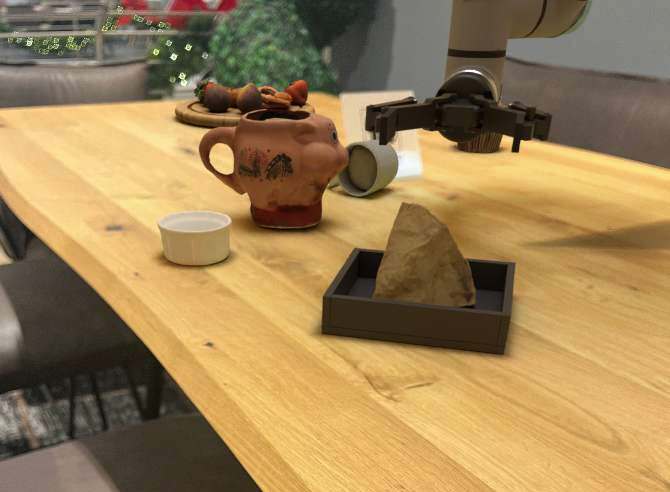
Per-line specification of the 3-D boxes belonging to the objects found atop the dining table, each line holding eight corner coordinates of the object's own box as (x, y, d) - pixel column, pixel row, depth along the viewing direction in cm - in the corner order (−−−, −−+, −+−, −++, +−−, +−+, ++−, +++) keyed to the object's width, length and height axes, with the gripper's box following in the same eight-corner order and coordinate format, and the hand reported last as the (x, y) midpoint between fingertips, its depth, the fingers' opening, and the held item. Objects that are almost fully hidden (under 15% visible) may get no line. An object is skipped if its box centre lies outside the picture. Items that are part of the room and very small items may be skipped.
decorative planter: (198, 234, 101) (191, 119, 93) (205, 210, 111) (200, 103, 103) (348, 235, 101) (354, 120, 93) (342, 210, 111) (347, 104, 103)
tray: (509, 296, 84) (515, 262, 82) (503, 354, 71) (511, 315, 69) (352, 281, 87) (354, 247, 85) (321, 333, 75) (322, 296, 73)
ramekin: (210, 272, 89) (208, 234, 87) (146, 261, 92) (142, 224, 90) (245, 251, 96) (244, 215, 93) (184, 241, 99) (182, 206, 96)
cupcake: (497, 144, 153) (505, 88, 148) (507, 154, 146) (516, 95, 140) (449, 143, 154) (456, 87, 148) (457, 153, 146) (464, 94, 140)
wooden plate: (309, 106, 189) (310, 68, 185) (320, 130, 163) (322, 87, 159) (179, 106, 188) (177, 68, 183) (170, 130, 162) (167, 86, 157)
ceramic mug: (400, 189, 122) (403, 136, 118) (377, 200, 116) (380, 145, 112) (342, 181, 127) (343, 130, 122) (317, 191, 121) (317, 138, 117)
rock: (492, 272, 81) (404, 246, 83) (501, 220, 73) (403, 193, 75) (454, 358, 78) (365, 329, 81) (458, 314, 70) (359, 283, 73)
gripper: (563, 143, 94) (567, 181, 78) (365, 133, 100) (329, 166, 83) (576, 74, 90) (584, 98, 73) (368, 67, 95) (331, 88, 78)
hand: (449, 134), depth 78 cm, fingers open, 13 cm apart
